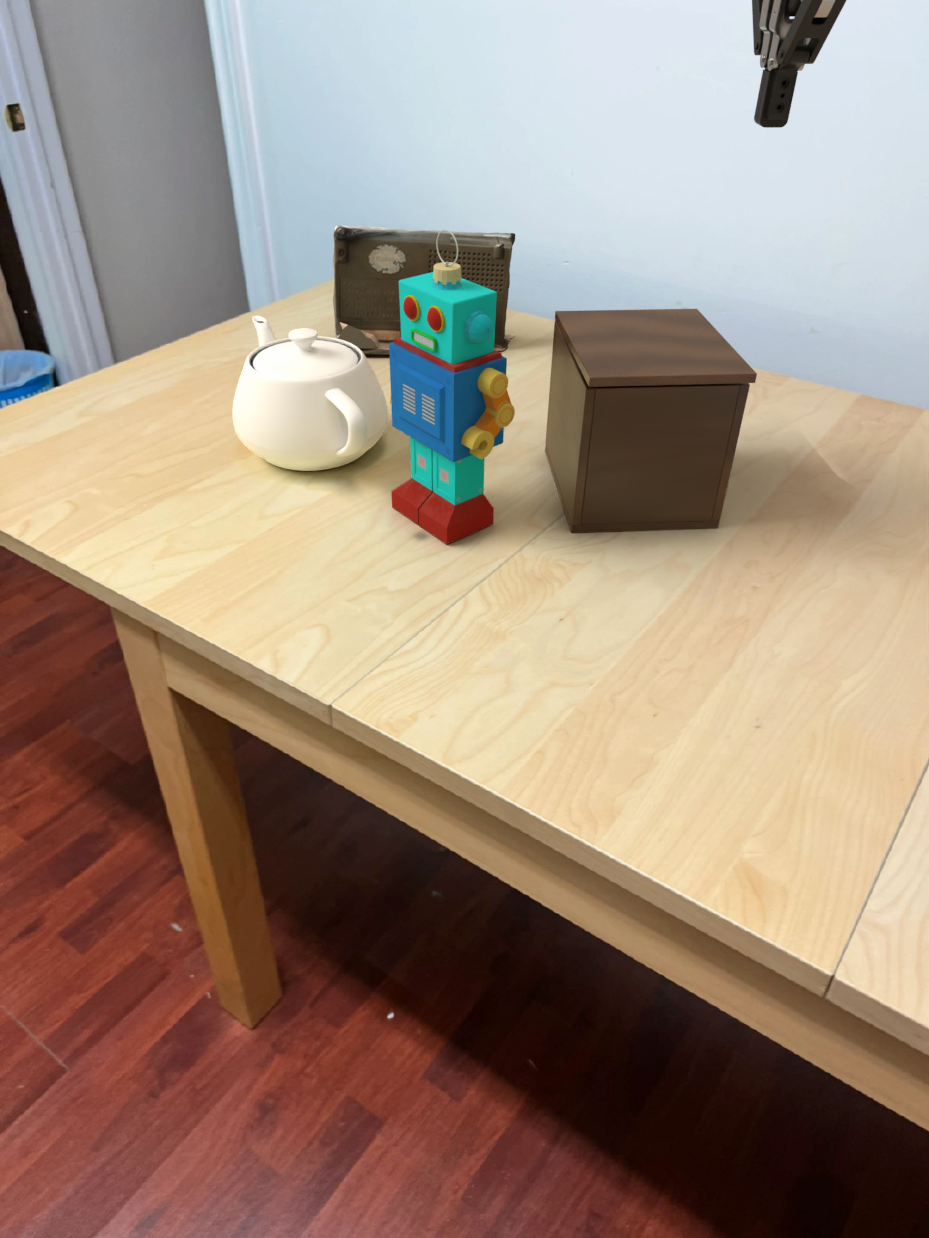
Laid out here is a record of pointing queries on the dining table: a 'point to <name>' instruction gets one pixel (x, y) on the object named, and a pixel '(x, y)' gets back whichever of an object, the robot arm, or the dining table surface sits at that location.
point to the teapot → (307, 400)
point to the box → (639, 449)
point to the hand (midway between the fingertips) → (769, 125)
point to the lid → (650, 348)
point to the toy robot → (447, 399)
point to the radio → (389, 255)
